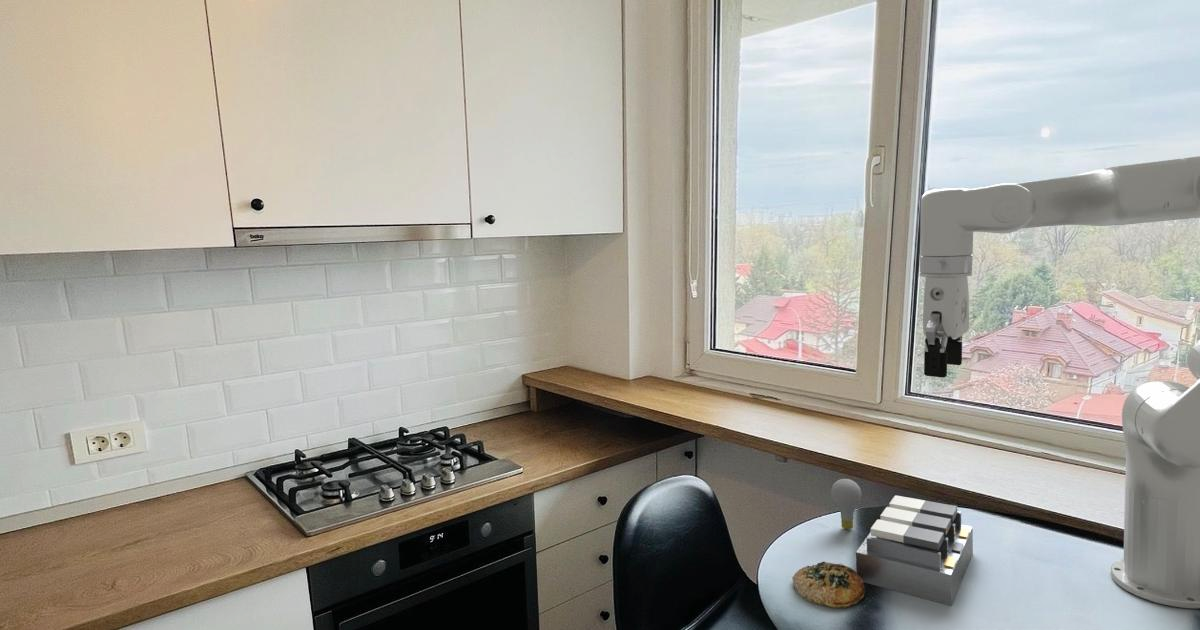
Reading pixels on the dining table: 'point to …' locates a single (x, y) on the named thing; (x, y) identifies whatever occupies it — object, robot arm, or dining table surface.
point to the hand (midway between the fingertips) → (943, 370)
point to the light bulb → (846, 500)
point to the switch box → (918, 564)
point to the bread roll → (829, 585)
